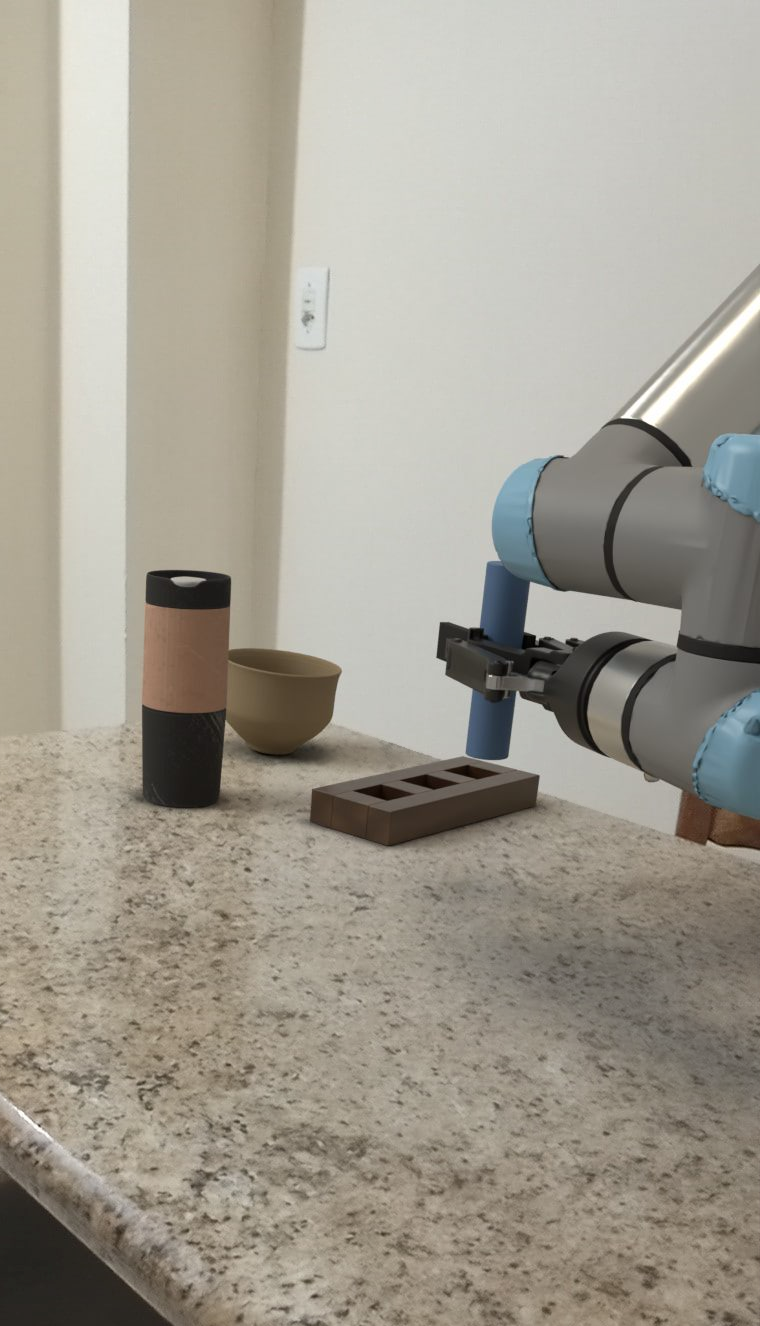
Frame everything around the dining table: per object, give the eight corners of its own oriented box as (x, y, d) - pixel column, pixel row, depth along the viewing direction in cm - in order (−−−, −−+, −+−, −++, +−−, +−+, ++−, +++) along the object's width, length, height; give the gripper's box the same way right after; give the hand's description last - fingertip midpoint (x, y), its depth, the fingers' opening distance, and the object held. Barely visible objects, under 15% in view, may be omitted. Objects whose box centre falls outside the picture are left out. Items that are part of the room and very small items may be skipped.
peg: (516, 757, 103) (541, 564, 98) (490, 762, 101) (514, 566, 96) (482, 748, 106) (505, 560, 100) (456, 753, 104) (477, 561, 98)
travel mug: (184, 782, 132) (192, 568, 125) (239, 800, 127) (250, 577, 120) (122, 794, 127) (127, 571, 120) (176, 813, 122) (184, 582, 115)
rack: (536, 805, 130) (540, 775, 129) (388, 846, 116) (391, 811, 115) (459, 785, 136) (462, 756, 135) (309, 821, 122) (311, 788, 121)
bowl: (314, 771, 139) (322, 672, 135) (198, 755, 143) (202, 658, 139) (349, 747, 150) (356, 654, 146) (240, 733, 154) (244, 642, 150)
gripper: (510, 764, 84) (363, 690, 105) (736, 757, 88) (552, 687, 109) (526, 640, 81) (371, 588, 102) (758, 639, 86) (565, 590, 106)
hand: (465, 640), depth 105 cm, fingers closed on peg, 3 cm apart
